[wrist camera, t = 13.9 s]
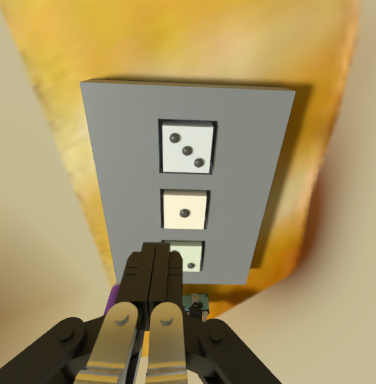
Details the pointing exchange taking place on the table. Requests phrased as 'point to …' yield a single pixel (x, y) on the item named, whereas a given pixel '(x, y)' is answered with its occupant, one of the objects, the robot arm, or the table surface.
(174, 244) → the tile two pips
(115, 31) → the table surface
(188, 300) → the push button
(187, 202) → the tile one pip
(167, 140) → the tile three pips
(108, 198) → the button board
